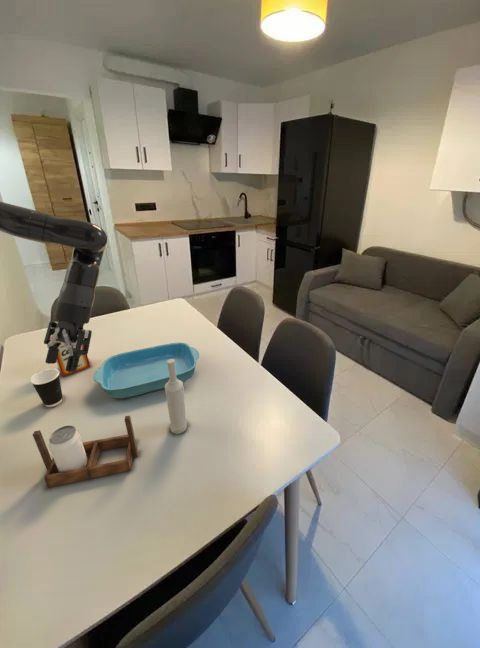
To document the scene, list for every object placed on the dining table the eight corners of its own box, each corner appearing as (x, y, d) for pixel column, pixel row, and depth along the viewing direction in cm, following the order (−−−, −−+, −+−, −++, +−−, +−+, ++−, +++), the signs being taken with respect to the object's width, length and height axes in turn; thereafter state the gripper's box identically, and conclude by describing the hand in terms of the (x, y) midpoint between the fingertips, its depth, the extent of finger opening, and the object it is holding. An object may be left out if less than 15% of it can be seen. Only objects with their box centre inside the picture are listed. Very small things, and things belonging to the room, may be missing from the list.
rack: (42, 488, 72) (24, 448, 66) (55, 456, 80) (41, 418, 74) (135, 469, 77) (127, 430, 71) (139, 441, 85) (132, 404, 79)
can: (71, 482, 73) (59, 449, 68) (53, 473, 75) (40, 440, 70) (93, 461, 79) (83, 428, 74) (76, 453, 81) (65, 421, 76)
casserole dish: (96, 411, 95) (91, 394, 92) (99, 372, 113) (95, 357, 110) (206, 382, 109) (205, 367, 106) (193, 352, 128) (192, 338, 125)
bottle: (188, 420, 93) (181, 354, 82) (187, 433, 88) (179, 365, 78) (171, 422, 92) (162, 356, 82) (169, 435, 87) (159, 367, 77)
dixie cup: (71, 401, 99) (62, 375, 94) (43, 414, 93) (33, 387, 89) (63, 390, 103) (54, 365, 99) (36, 402, 98) (26, 376, 93)
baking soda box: (85, 359, 120) (76, 325, 114) (90, 366, 116) (81, 332, 109) (58, 368, 114) (47, 333, 108) (62, 376, 110) (51, 340, 103)
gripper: (43, 296, 72) (27, 361, 71) (78, 304, 66) (61, 375, 65) (73, 301, 79) (59, 360, 78) (107, 308, 73) (93, 373, 71)
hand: (60, 367), depth 71 cm, fingers open, 8 cm apart
